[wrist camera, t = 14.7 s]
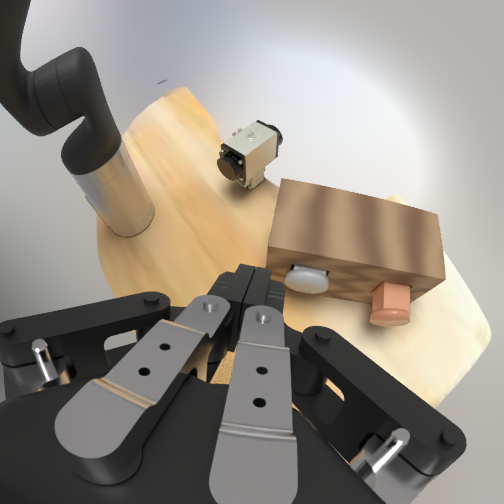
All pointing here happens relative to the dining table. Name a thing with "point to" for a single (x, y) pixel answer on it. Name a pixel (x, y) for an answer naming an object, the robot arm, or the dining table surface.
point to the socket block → (354, 241)
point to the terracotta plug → (390, 304)
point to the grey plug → (307, 279)
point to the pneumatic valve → (249, 153)
